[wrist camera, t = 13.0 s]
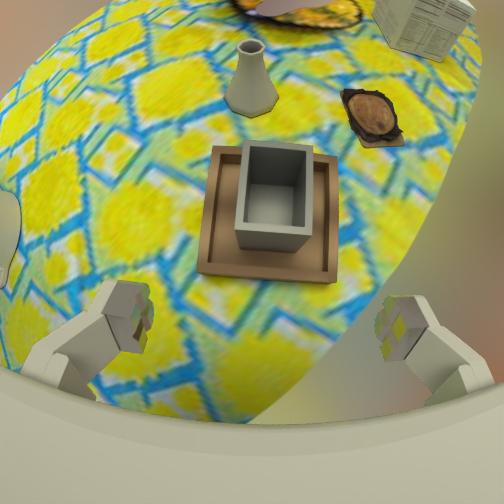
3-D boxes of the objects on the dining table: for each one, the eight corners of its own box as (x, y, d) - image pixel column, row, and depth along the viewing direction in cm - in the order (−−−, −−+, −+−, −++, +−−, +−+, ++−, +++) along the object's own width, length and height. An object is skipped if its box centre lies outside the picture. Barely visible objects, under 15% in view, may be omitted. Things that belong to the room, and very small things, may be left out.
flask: (251, 126, 34) (251, 74, 25) (214, 99, 35) (205, 48, 25) (288, 98, 35) (296, 47, 25) (251, 73, 36) (250, 23, 26)
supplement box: (442, 64, 38) (478, 11, 21) (389, 48, 38) (420, -17, 21) (419, 28, 40) (445, -22, 23) (370, 13, 40) (390, -44, 23)
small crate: (295, 253, 31) (312, 235, 22) (239, 249, 31) (234, 229, 22) (298, 184, 32) (313, 145, 23) (246, 180, 32) (243, 139, 23)
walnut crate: (328, 284, 31) (336, 282, 28) (202, 274, 31) (196, 271, 28) (329, 169, 33) (337, 156, 30) (216, 159, 34) (212, 145, 30)
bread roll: (406, 149, 35) (418, 137, 31) (356, 151, 35) (366, 137, 31) (381, 92, 36) (389, 78, 33) (333, 91, 36) (339, 75, 33)
